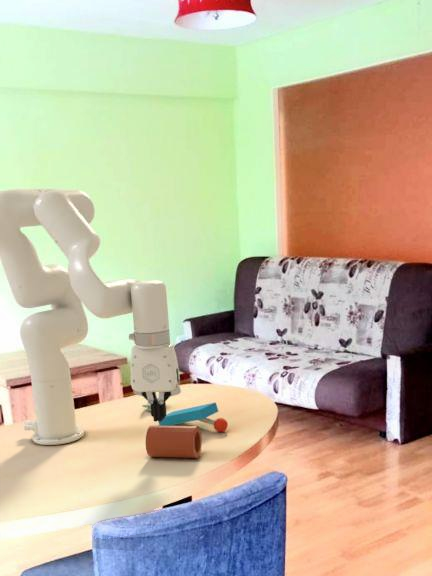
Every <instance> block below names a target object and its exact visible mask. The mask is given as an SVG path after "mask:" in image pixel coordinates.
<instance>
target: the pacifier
mask: <svg viewBox="0 0 432 576" xmlns="http://www.w3.org/2000/svg"><path fill="white" fill-rule="evenodd" d="M158 398H159V397H157V399H158ZM141 407H142V408H146V409H147V410H148V412H149V411H150V412H151V404H149V403H148V402H147V403H146V404H141Z"/></svg>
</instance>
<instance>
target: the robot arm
mask: <svg viewBox="0 0 432 576" xmlns="http://www.w3.org/2000/svg"><path fill="white" fill-rule="evenodd" d="M94 205H95V204H94V202H93V201H92V199H91V197H90V196H89V195H88V194H87V193H86V192H84V191H82V190H80V189H59V188H57V189H55V188H18V189H17V188H16V189H5V190H1V191H0V261H1V264H2V267H3V270H4V273H5V277H6V278H7V282H8V284H9V288H10V290H11V293H12V296H13V298H14V300H15V302H16V304H17V305H18V306H20V307H21V308H25V309H33V308H34V309H35V308H39V307H45V306H50V308H51V309H47V310H42V311H38V312H35V313H32V314H29V315H28V316H26V318H25V319H24V320H23V321H22V323H21V325H20V329H19V333H20V340H21V342H22V345H23V349H24V351H25V354H26V358H27V363H28V368H29V376H30V381H31V389H32V397H33V405H34V411H35V419H36V420H34V421H33V420H25V421H24V424H23V429H24V431H32V432H33V434H32V436H31V438H32V442H33V443H35V444H37V445H42V446H58V445H64V444H70V443H72V442H76V441H77V440H80V439H81V438H83V436H84V434H85V433H84V429H83V428H82V427H80V426H77V419H76V411H75V410H76V408H75V401H74V394H73V383H72V377H71V369H70V365H69V362H68V360H67V359H66V357H65V356H64V354H63V353H62V351H61V349H63V348H66V347H70V346H74V345H77V344H79V343H81V342H83V341H84V340H85V339H86V337H87V335H88V331H89V323H88V319H87V318H88V317H87V315H86V312H85V309H84V307H85V308H86V309H87V311H89V312H90V313H91V314H92V315H93V316H95V317H96V318H99V319H110V318H116V317H120V316H124V315H128V314H132V319H133V320H132V321H133V332H132V333H129V334H128V340H129V341H133V343H134V345H132V346H131V351H130V385H131V389H132V390H133V391H132V393H133V394H134V395H137V396H141V397H143V398H144V399H145V400H146V401H147V403H149V404H151V411H150V413H151V414H150V415H151V417H152V418H153V422H154V423H155V422H158V421H159V422H161V421H162V420H163V419H164V418H165V416H166V414H167V405H166V402H167V401H168V400H169V398H170V397H175V396H178V395H179V394H181V392H182V390H181V386H180V383H181V377H180V375H181V374H180V368H179V363H178V357H177V353H176V349H175V345H174V343H173V342H171V333H170V321H169V310H168V297H167V296H168V295H167V287H166V284H165V283H164V282H163V281H161V280H156V279H154V280H153V279H152V280H151V279H150V280H140V279H136V278H122V279H115V280H110V281H105V282H104V281H102V279H101V278H100V277H99V276H98V275H97V273H96V272H95V271H94V269H93V267H92V265H91V263H90V259H91V258H92V257H93V256H95V254H96V253H97V251H98V250H99V248H100V245H101V238H100V236H99V235H98V233H97V232H96V231H95V230H94V228H93V227H92V226H91V225H90V224H91V223H92V222H93V221H94V218H95V212H96V211H95V206H94ZM39 226H42V227H43V229H44V230H45V232H47V234H48V235H49V236H50V238H51V239H52V240H53V242H54V243H55V244H56V246H57V247H58V248H59V249H60V251H61V252H62V253H63V254H64V256H65V257H66V259H67V261H68V263H67V267H68V269H66V268H65V267H63V266H62V265H60V264H45V265H43V264H42V262H41V261H40V258H39V256H38V253H37V249H36V247H35V246H34V244H33V242H32V240H30V238H29V237H28V236H27V235H26V234H25V233H23V231H22V230H21V228H26V227H39ZM157 393H158V396H157ZM157 398H158V399H157ZM159 422H158V423H159Z"/></svg>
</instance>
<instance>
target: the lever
mask: <svg viewBox="0 0 432 576" xmlns="http://www.w3.org/2000/svg"><path fill="white" fill-rule="evenodd" d="M216 413H219V408H218V405H217V402H211V403H207V404H202V405H197V406H192V407H188V408H187V407H186V408H182V409H179V410H173V411H170V412H169V413H166V416H165V418H164V419H163V420H162V421H161V422H159V421H157V422H158V426H176V425H179V424H180V425H181V424H183V423H189V422H195V421H199V422H202V423H205V424H208V425H211V426H213V427H214V430H215V431H217V432H219V433H222V432H225V431H227V429H228V426H229V425H228V421H227V420H226V418H222V417H219V418H216V419H215V420H214V419H211V418H209V417H211V416H212V415H214V414H216Z"/></svg>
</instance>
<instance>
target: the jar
mask: <svg viewBox="0 0 432 576" xmlns="http://www.w3.org/2000/svg"><path fill="white" fill-rule="evenodd" d="M202 440H203V439H202V431H201V428H200V426H197V425H170V426H159V425H149V426H148V428H147V430H146V435H145V450H146V453H147V455H148V457H151V458H152V457H153V458H183V459H184V458H185V459H199V457H200V455H201V452H202V445H203V444H202V443H203V442H202Z"/></svg>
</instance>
